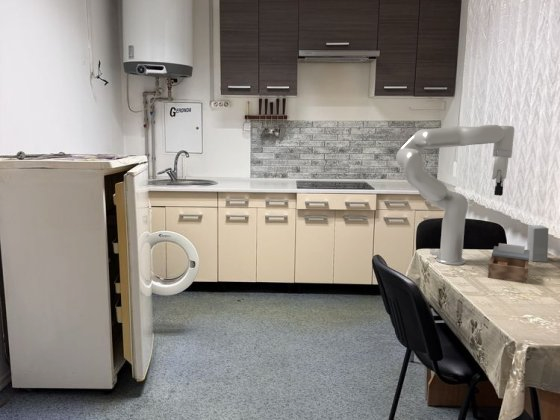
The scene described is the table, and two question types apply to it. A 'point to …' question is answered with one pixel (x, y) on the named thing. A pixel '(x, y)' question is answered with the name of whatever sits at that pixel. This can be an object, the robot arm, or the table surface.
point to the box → (508, 269)
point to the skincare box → (537, 242)
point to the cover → (511, 251)
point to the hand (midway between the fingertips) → (498, 195)
